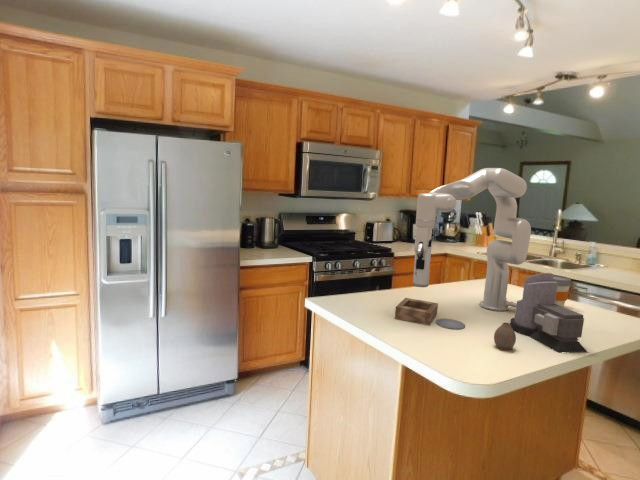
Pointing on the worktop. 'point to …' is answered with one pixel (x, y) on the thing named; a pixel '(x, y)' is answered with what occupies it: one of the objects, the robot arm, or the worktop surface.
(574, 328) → the juicer
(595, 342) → the worktop surface
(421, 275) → the travel mug
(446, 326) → the rubber coaster
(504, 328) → the vase
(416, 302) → the brown wooden tray
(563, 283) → the reusable coffee cup
